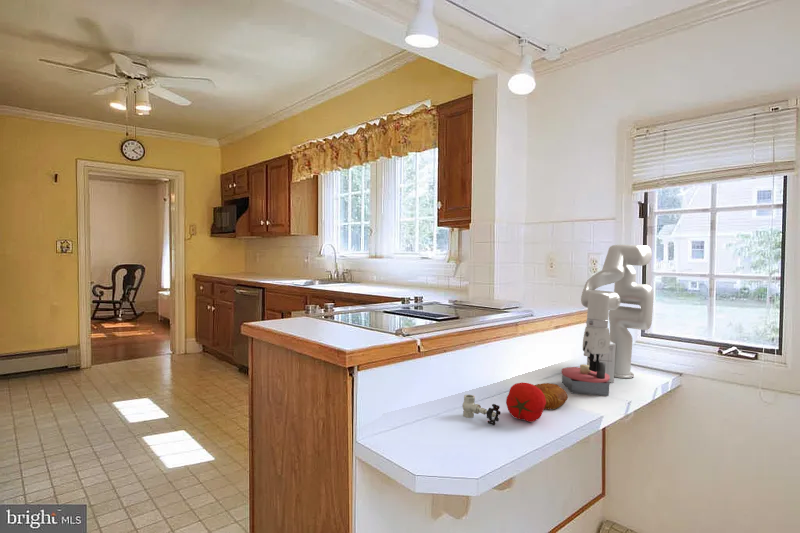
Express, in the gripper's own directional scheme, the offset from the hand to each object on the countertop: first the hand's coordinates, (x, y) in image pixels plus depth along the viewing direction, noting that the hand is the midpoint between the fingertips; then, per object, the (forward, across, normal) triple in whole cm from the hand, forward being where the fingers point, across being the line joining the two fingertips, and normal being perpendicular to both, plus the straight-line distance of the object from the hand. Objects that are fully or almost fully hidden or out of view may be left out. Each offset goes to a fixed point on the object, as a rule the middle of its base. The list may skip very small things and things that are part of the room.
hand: (593, 370), depth 175 cm
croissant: (+10, -24, -1) cm, 26 cm away
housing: (+10, +3, +7) cm, 12 cm away
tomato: (+11, -42, -11) cm, 45 cm away
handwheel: (+4, +3, +7) cm, 9 cm away
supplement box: (+9, +22, +16) cm, 29 cm away
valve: (+11, -58, -7) cm, 59 cm away
